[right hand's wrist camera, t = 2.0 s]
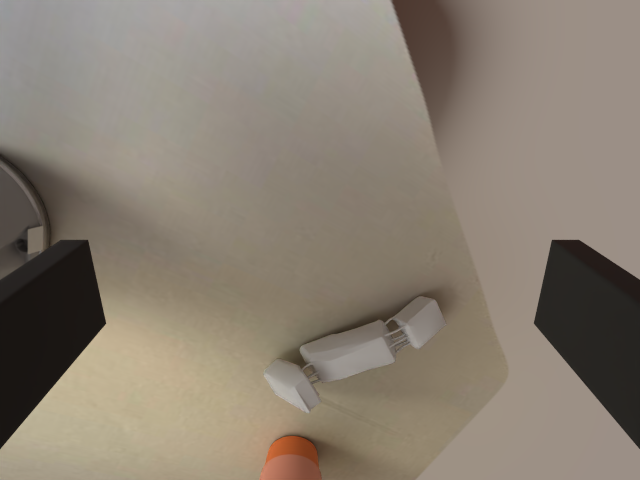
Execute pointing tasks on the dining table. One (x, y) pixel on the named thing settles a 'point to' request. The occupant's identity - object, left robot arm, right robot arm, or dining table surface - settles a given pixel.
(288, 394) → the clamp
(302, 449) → the cup with straw
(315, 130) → the dining table surface
